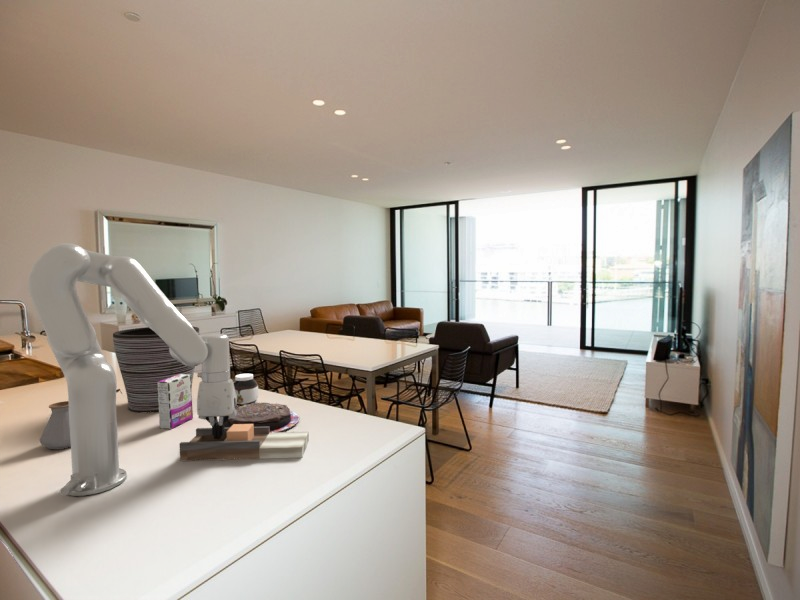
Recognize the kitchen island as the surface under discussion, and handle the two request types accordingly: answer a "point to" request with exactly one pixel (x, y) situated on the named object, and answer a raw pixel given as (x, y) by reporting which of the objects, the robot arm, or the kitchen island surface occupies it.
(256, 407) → the chocolate cake
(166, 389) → the candy bar box
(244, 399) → the spread jar
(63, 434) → the coffee pot
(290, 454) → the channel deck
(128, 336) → the planter pot
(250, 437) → the block
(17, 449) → the kitchen island surface
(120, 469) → the robot arm
